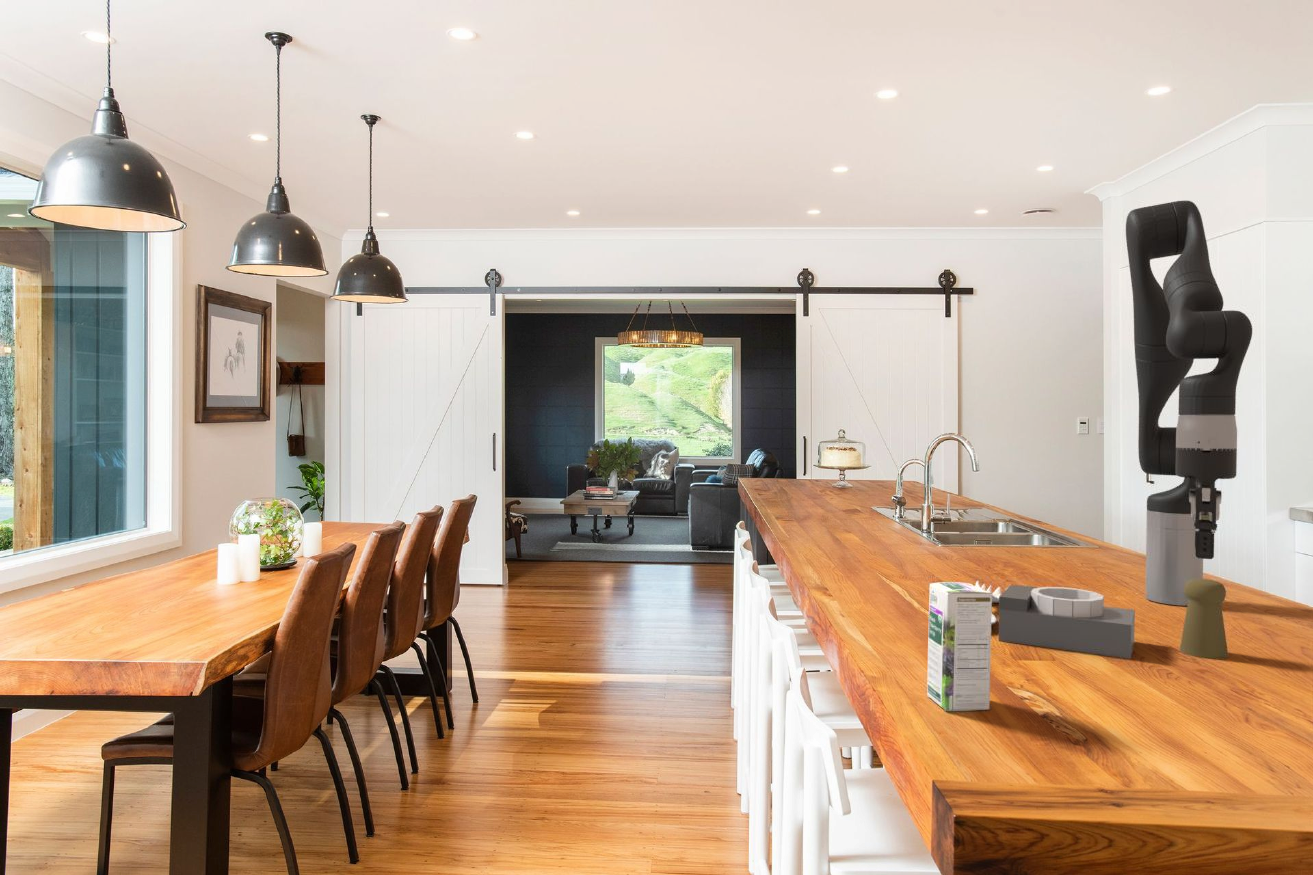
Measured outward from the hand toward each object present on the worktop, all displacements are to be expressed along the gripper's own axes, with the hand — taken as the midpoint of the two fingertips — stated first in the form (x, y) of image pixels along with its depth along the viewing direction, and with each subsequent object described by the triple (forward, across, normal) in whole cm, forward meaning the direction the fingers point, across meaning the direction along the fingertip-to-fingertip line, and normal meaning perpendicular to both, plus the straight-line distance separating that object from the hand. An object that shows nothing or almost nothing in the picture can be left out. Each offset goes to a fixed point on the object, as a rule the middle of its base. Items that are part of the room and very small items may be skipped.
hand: (1203, 554), depth 121 cm
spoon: (+15, -8, -33) cm, 37 cm away
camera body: (+15, +4, -18) cm, 24 cm away
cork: (+15, 0, 0) cm, 15 cm away
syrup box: (+15, +42, -26) cm, 51 cm away
